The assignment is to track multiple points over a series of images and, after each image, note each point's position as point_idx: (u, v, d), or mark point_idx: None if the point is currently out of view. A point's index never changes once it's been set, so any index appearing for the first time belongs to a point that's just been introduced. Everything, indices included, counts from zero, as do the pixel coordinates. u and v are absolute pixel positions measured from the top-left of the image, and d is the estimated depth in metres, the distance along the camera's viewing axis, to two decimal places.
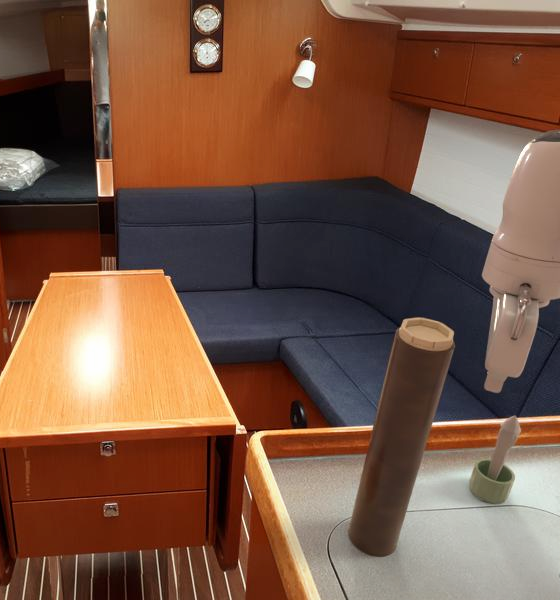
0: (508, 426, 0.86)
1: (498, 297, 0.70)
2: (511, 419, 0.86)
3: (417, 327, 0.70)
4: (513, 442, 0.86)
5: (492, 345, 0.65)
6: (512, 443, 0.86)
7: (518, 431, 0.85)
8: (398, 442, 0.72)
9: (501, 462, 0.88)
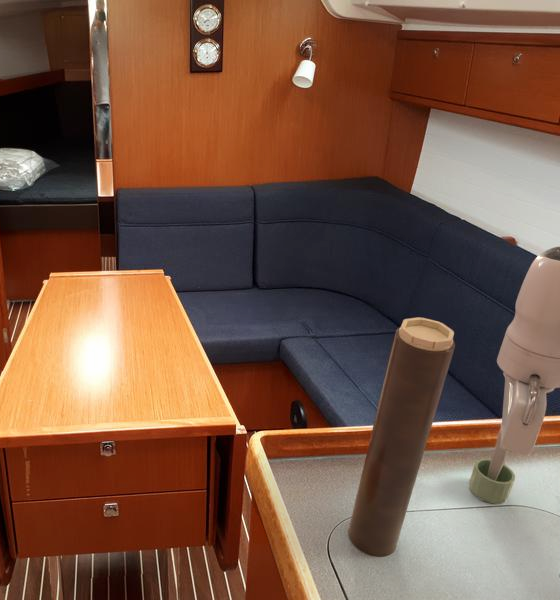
0: None
1: (511, 382, 0.82)
2: None
3: (417, 327, 0.70)
4: None
5: (506, 428, 0.77)
6: None
7: None
8: (398, 442, 0.72)
9: (501, 462, 0.88)
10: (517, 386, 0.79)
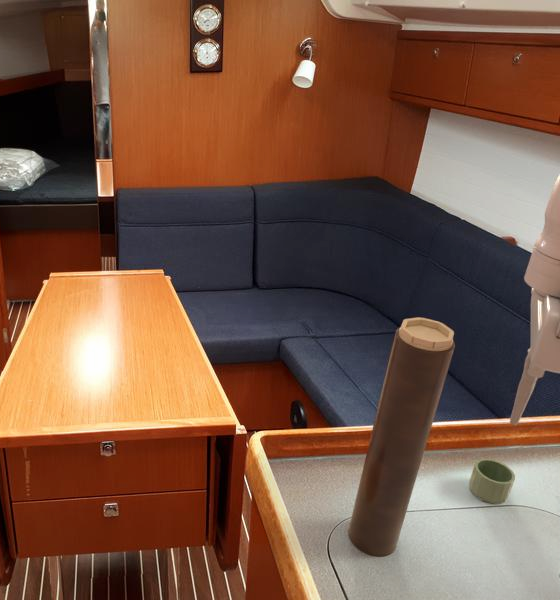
0: None
1: (540, 299, 0.76)
2: None
3: (417, 327, 0.70)
4: None
5: (538, 343, 0.71)
6: None
7: None
8: (398, 442, 0.72)
9: (528, 392, 0.82)
10: (548, 300, 0.73)
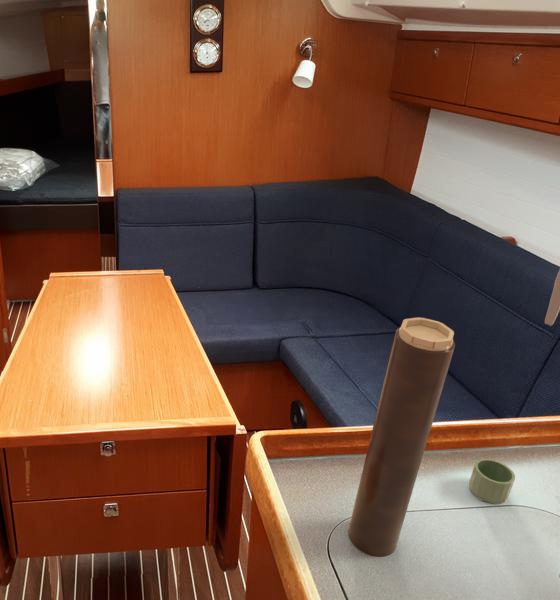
0: None
1: None
2: None
3: (417, 327, 0.70)
4: None
5: None
6: None
7: None
8: (398, 442, 0.72)
9: None
10: None
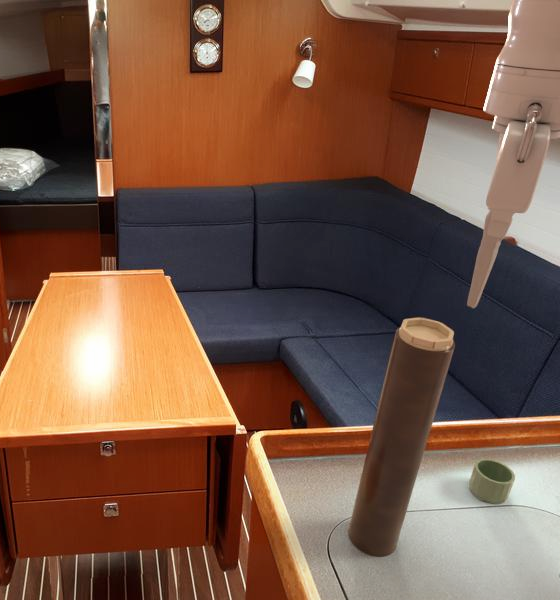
0: None
1: (502, 130, 0.60)
2: None
3: (417, 327, 0.70)
4: None
5: (495, 173, 0.55)
6: None
7: None
8: (398, 442, 0.72)
9: (488, 262, 0.66)
10: (510, 123, 0.57)
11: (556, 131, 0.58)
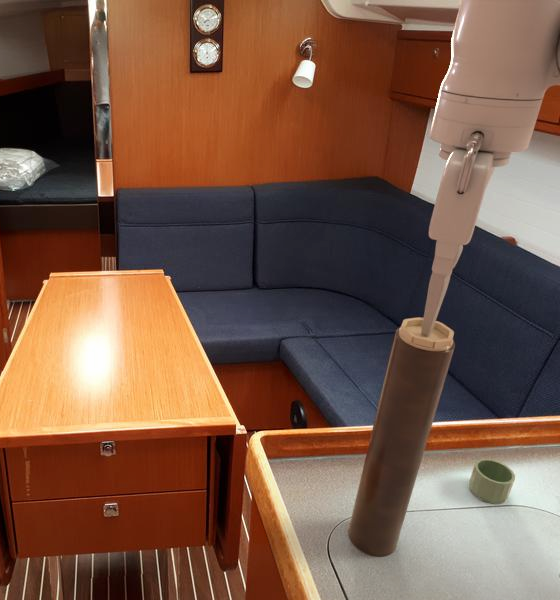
0: None
1: (447, 158, 0.58)
2: None
3: (417, 327, 0.70)
4: (455, 257, 0.63)
5: (435, 204, 0.54)
6: None
7: None
8: (398, 442, 0.72)
9: (440, 290, 0.65)
10: (453, 152, 0.55)
11: (501, 159, 0.57)
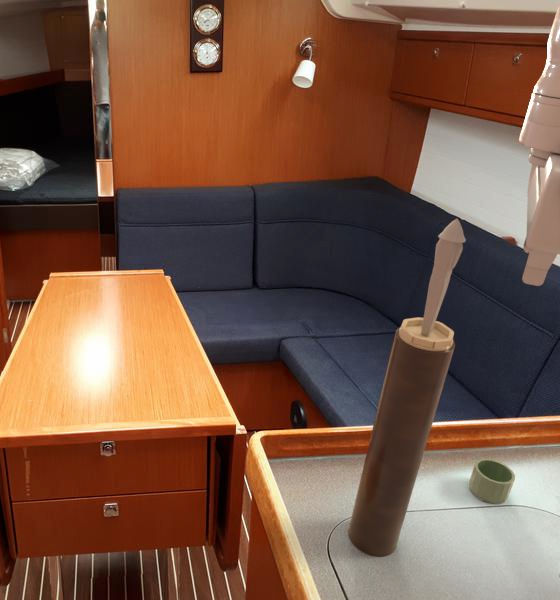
0: (448, 234, 0.63)
1: (541, 164, 0.56)
2: (452, 224, 0.62)
3: (417, 327, 0.70)
4: (455, 257, 0.63)
5: (537, 213, 0.51)
6: (454, 259, 0.63)
7: (461, 240, 0.62)
8: (398, 442, 0.72)
9: (440, 290, 0.65)
10: (551, 158, 0.53)
11: None
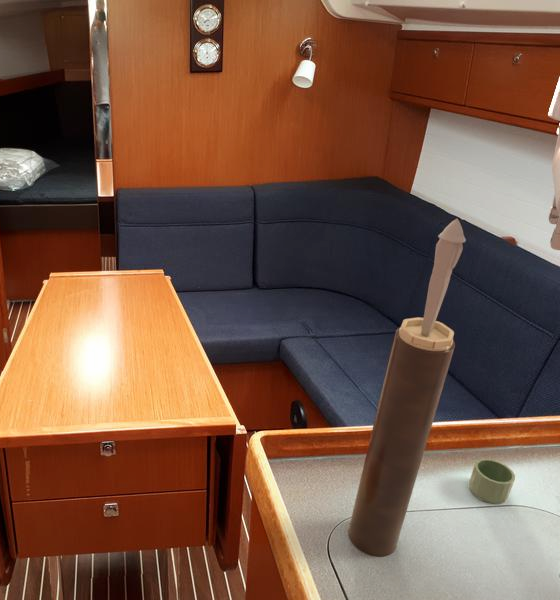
0: (448, 234, 0.63)
1: None
2: (452, 224, 0.62)
3: (417, 327, 0.70)
4: (455, 257, 0.63)
5: None
6: (454, 259, 0.63)
7: (461, 240, 0.62)
8: (398, 442, 0.72)
9: (440, 290, 0.65)
10: None
11: None
